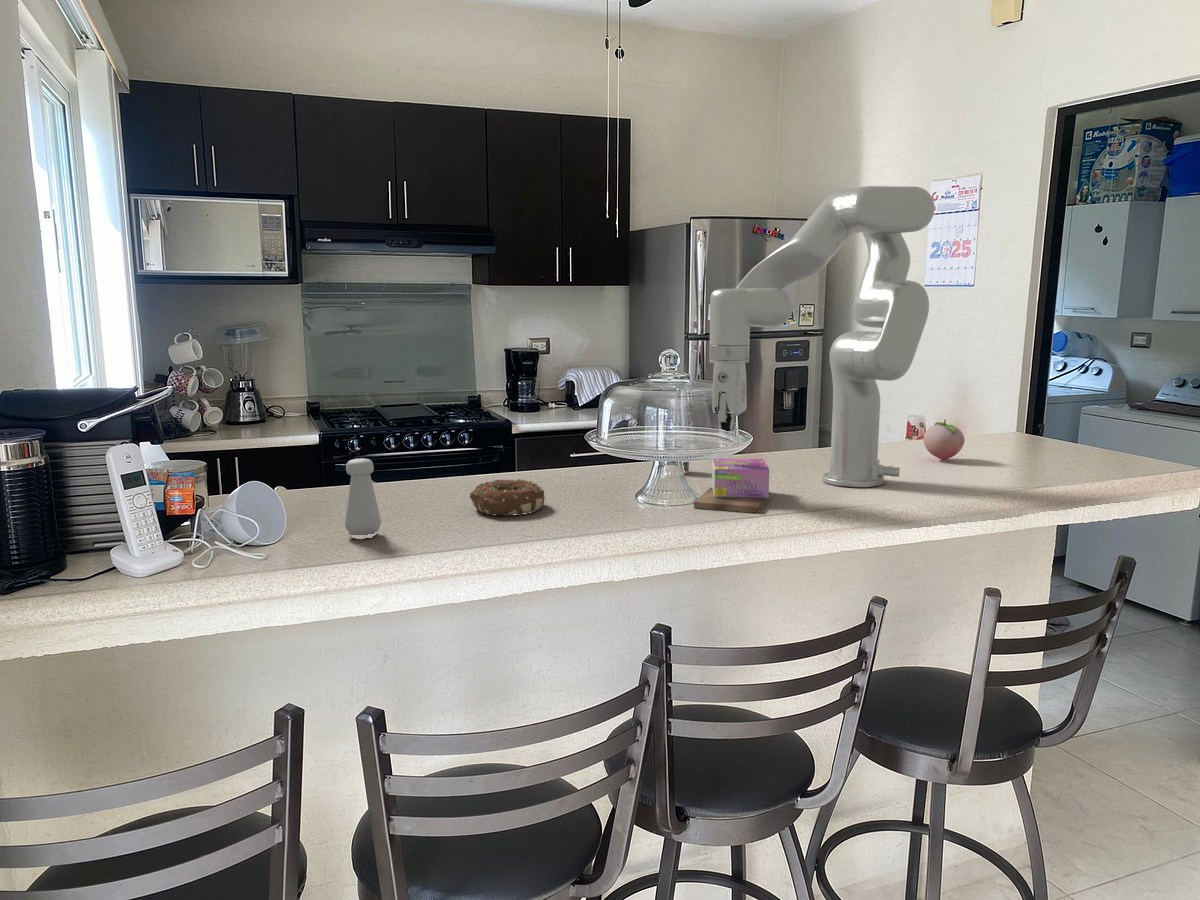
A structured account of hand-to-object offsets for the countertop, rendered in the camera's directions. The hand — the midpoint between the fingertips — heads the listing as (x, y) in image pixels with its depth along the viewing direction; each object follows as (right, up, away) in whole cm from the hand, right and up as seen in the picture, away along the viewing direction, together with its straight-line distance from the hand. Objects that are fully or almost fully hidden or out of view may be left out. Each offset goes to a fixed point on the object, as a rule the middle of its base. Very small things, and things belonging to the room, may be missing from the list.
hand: (727, 449), depth 165 cm
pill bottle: (-7, -5, +27) cm, 28 cm away
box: (+3, -4, +7) cm, 9 cm away
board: (+1, -10, -2) cm, 11 cm away
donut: (-42, -12, -6) cm, 44 cm away
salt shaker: (-64, -15, -23) cm, 70 cm away
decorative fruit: (+57, -3, +38) cm, 68 cm away
